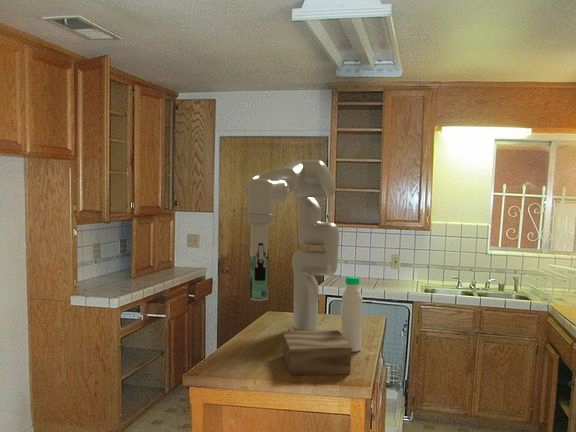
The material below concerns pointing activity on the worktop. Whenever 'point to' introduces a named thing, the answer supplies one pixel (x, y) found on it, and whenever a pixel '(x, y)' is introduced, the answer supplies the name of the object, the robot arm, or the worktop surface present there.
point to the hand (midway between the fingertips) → (259, 278)
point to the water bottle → (352, 313)
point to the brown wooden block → (316, 352)
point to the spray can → (258, 287)
